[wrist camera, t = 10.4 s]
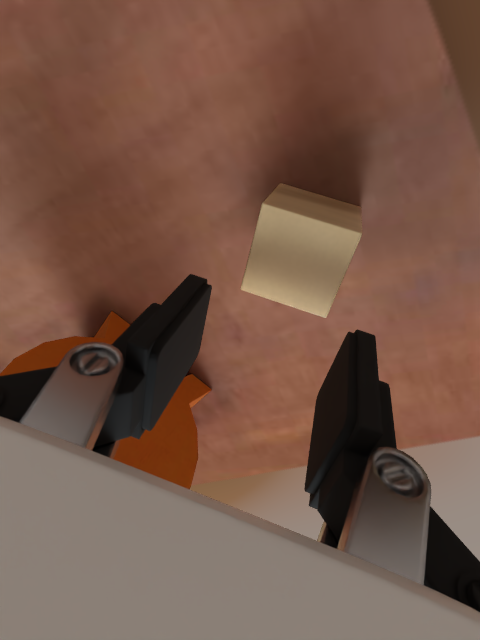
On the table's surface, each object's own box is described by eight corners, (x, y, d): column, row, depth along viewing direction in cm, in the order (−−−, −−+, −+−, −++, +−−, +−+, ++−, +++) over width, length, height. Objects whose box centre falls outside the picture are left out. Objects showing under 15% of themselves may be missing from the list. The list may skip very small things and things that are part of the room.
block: (280, 182, 20) (261, 202, 16) (361, 206, 19) (362, 233, 16) (259, 257, 23) (240, 290, 19) (331, 280, 22) (325, 318, 18)
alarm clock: (68, 340, 31) (-256, 613, 15) (96, 295, 28) (-286, 585, 11) (189, 431, 33) (23, 763, 17) (228, 400, 30) (68, 778, 13)
